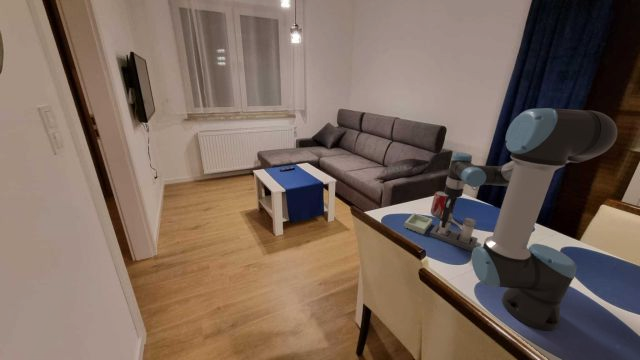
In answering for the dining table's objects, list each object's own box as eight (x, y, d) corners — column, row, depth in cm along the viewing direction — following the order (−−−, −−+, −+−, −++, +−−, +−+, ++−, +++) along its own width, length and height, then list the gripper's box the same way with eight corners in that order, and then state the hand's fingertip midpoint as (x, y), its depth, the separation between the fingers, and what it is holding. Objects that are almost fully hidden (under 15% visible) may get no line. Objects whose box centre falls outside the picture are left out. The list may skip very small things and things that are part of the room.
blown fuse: (446, 238, 124) (451, 217, 120) (436, 235, 127) (441, 213, 122) (448, 234, 128) (454, 213, 123) (438, 231, 130) (443, 210, 126)
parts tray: (423, 234, 127) (424, 229, 126) (403, 227, 132) (404, 222, 131) (431, 224, 136) (432, 219, 135) (412, 217, 142) (413, 212, 141)
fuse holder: (472, 251, 115) (480, 228, 111) (429, 235, 126) (434, 214, 122) (476, 241, 123) (483, 219, 118) (435, 227, 134) (440, 206, 129)
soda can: (427, 212, 148) (431, 191, 144) (436, 210, 151) (441, 190, 147) (437, 218, 143) (442, 197, 138) (446, 216, 145) (451, 195, 141)
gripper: (459, 194, 109) (447, 241, 118) (467, 183, 122) (455, 226, 131) (440, 189, 113) (430, 235, 122) (450, 179, 126) (440, 220, 135)
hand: (443, 230), depth 126 cm, fingers closed on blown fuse, 4 cm apart
